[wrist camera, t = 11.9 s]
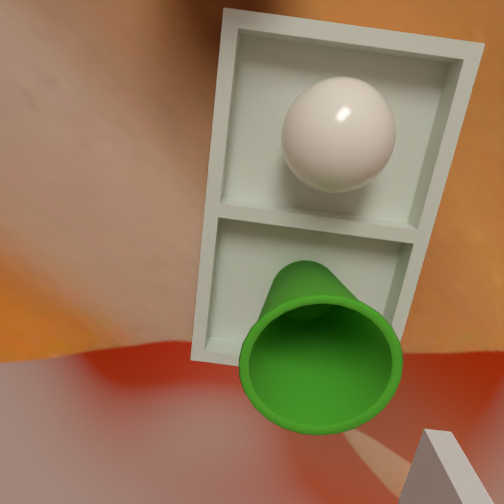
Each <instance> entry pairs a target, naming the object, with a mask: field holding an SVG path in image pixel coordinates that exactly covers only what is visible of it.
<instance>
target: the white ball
mask: <svg viewBox="0 0 504 504" xmlns="http://www.w3.org/2000/svg"><path fill="white" fill-rule="evenodd" d="M395 141H396V122H395V118H394V114H393V112H392V109H391V107H390V105H389V103H388V101H387V100H386V99H385V97H384V96H383V95H382V94H381V93H380V92H379V91H378V90H377V89H376V88H375V87H373V86H372V85H370V84H369V83H367V82H365V81H362V80H360V79H357V78H352V77H332V78H327V79H324V80H321V81H318V82H316V83H314V84H313V85H311V86H309V87H308V88H306V89H305V90H304V91H303V92H302V93H301V94H299V95H298V97H297V98H296V99H295V100H294V101H293V103H292V104H291V106H290V107H289V109H288V111H287V113H286V116H285V119H284V122H283V126H282V132H281V145H282V151H283V155H284V158H285V160H286V163H287V165H288V167H289V168H290V170H291V171H292V172H293V174H294V175H295V176H296V177H297V178H298V179H299V180H300V181H301V182H302V183H304V184H305V185H307V186H308V187H310V188H312V189H314V190H317V191H320V192H325V193H334V194H336V193H346V192H351V191H354V190H357V189H359V188H361V187H363V186H365V185H367V184H368V183H370V182H371V181H372V180H374V179H375V178H376V177H377V176H378V175H379V174H380V173H381V172H382V170H383V169H384V168H385V166H386V165H387V163H388V161H389V160H390V157H391V155H392V153H393V149H394V146H395Z"/></svg>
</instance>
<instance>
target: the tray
mask: <svg viewBox="0 0 504 504" xmlns="http://www.w3.org/2000/svg"><path fill="white" fill-rule="evenodd" d="M484 46H485V44H484V43H477V42H470V41H463V40H455V39H448V38H441V37H434V36H427V35H419V34H412V33H405V32H398V31H391V30H383V29H376V28H369V27H362V26H354V25H347V24H340V23H333V22H326V21H318V20H311V19H304V18H297V17H290V16H282V15H275V14H268V13H261V12H254V11H246V10H239V9H232V8H225V7H224V8H223V18H222V29H221V40H220V50H219V61H218V72H217V83H216V93H215V104H214V115H213V125H212V136H211V147H210V157H209V168H208V179H207V190H206V200H205V211H204V222H203V232H202V243H201V254H200V264H199V275H198V286H197V297H196V307H195V318H194V329H193V339H192V350H191V360H194V361H202V362H210V363H217V364H225V365H232V366H239V356H240V351H241V347H242V343H243V341H244V339H245V338H246V336H247V334H248V332H249V331H250V329H251V327H252V326H253V325H254V324H255V323H256V322H257V321H258V318H259V316H260V313H261V310H262V308H263V305H264V303H265V300H266V298H267V295H268V292H269V290H270V287H271V285H272V282H273V280H274V278H275V276H276V274H277V273H278V272H279V271H280V270H281V269H282V268H284V267H285V266H287V265H288V264H290V263H293V262H296V261H302V260H308V261H314V262H317V263H320V264H322V265H324V266H325V267H327V268H328V269H329V270H330V271H331V272H332V273H333V274H334V275H335V276H336V277H337V278H338V279H339V280H340V281H341V283H342V284H343V285H344V286H345V287H346V288H347V289H348V290H349V291H350V292H351V293H352V294H353V295H354V296H355V297H356V298H357V299H358V300H359V301H361V302H363V303H365V304H366V305H368V306H370V307H371V308H373V309H374V310H376V311H377V312H379V313H380V314H381V315H382V316H383V317H384V318H385V319H386V321H387V322H388V323H389V324H390V325H391V326H392V327H393V329H394V331H395V333H396V335H397V337H398V339H399V341H400V342H401V338H402V335H403V331H404V328H405V324H406V321H407V317H408V314H409V310H410V306H411V303H412V299H413V296H414V292H415V289H416V285H417V282H418V278H419V275H420V271H421V268H422V264H423V261H424V257H425V254H426V250H427V247H428V243H429V240H430V236H431V233H432V229H433V226H434V222H435V218H436V215H437V211H438V208H439V204H440V201H441V197H442V194H443V190H444V187H445V183H446V180H447V176H448V173H449V169H450V166H451V162H452V159H453V155H454V152H455V148H456V145H457V141H458V138H459V134H460V130H461V127H462V123H463V120H464V116H465V113H466V109H467V106H468V102H469V99H470V95H471V92H472V88H473V85H474V81H475V78H476V74H477V71H478V67H479V64H480V60H481V57H482V53H483V50H484ZM332 77H352V78H357V79H360V80H362V81H365V82H367V83H369V84H370V85H372V86H373V87H375V88H376V89H377V90H378V91H379V92H380V93H381V94H382V95H383V96H384V97H385V99H386V100H387V101H388V103H389V105H390V107H391V109H392V112H393V114H394V118H395V122H396V141H395V146H394V149H393V153H392V155H391V157H390V160H389V161H388V163H387V165H386V166H385V168H384V169H383V170H382V172H381V173H380V174H379V175H378V176H377V177H376V178H375V179H374V180H372V181H371V182H370V183H368V184H367V185H365V186H363V187H361V188H359V189H357V190H354V191H351V192H346V193H336V194H334V193H325V192H320V191H317V190H314V189H312V188H310V187H308V186H307V185H305V184H304V183H302V182H301V181H300V180H299V179H298V178H297V177H296V176H295V175H294V174H293V172H292V171H291V170H290V168H289V167H288V165H287V163H286V160H285V158H284V155H283V151H282V145H281V132H282V126H283V122H284V119H285V116H286V113H287V111H288V109H289V107H290V106H291V104H292V103H293V101H294V100H295V99H296V98H297V97H298V95H299V94H301V93H302V92H303V91H304V90H305V89H306V88H308V87H309V86H311V85H313V84H314V83H316V82H318V81H321V80H324V79H327V78H332Z"/></svg>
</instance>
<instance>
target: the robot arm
mask: <svg viewBox="0 0 504 504" xmlns="http://www.w3.org/2000/svg"><path fill="white" fill-rule="evenodd" d="M399 504H494V503H493V501H492V500H491V498H490V496H489V495H488V493H487V491H486V490H485V488H484V486H483V485H482V483H481V481H480V479H479V478H478V476H477V474H476V473H475V471H474V469H473V468H472V466H471V464H470V463H469V461H468V459H467V457H466V456H465V454H464V452H463V451H462V449H461V447H460V446H459V444H458V442H457V441H456V439H455V437H454V436H453V434H452V432H447V431H439V430H430V429H424V431H423V433H422V436H421V439H420V442H419V445H418V448H417V451H416V453H415V456H414V459H413V462H412V465H411V467H410V470H409V473H408V476H407V479H406V482H405V484H404V487H403V490H402V493H401V496H400V499H399Z"/></svg>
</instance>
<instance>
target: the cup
mask: <svg viewBox="0 0 504 504" xmlns="http://www.w3.org/2000/svg"><path fill="white" fill-rule="evenodd" d="M402 365H403V356H402V350H401V345H400V341H399V339H398V337H397V335H396V333H395V331H394V329H393V327H392V326H391V325H390V324H389V323H388V322H387V321H386V319H385V318H384V317H383V316H382V315H381V314H380V313H379V312H377V311H376V310H374V309H373V308H371V307H370V306H368V305H366V304H365V303H363V302H361V301H359V300H358V299H357V298H356V297H355V296H354V295H353V294H352V293H351V292H350V291H349V290H348V289H347V288H346V287H345V286H344V285H343V284H342V283H341V281H340V280H339V279H338V278H337V277H336V276H335V275H334V274H333V273H332V272H331V271H330V270H329V269H328V268H327V267H325V266H324V265H322V264H320V263H317V262H314V261H308V260H302V261H296V262H293V263H290V264H288V265H287V266H285V267H284V268H282V269H281V270H280V271H279V272H278V273H277V274H276V276H275V278H274V280H273V282H272V285H271V287H270V290H269V292H268V295H267V298H266V300H265V303H264V305H263V308H262V310H261V313H260V316H259V318H258V321H257V322H256V323H255V324H254V325H253V326H252V327H251V329H250V331H249V332H248V334H247V336H246V338H245V339H244V341H243V343H242V347H241V351H240V356H239V377H240V380H241V383H242V386H243V389H244V392H245V394H246V395H247V397H248V398H249V400H250V401H251V403H252V404H253V406H254V407H255V408H256V409H257V410H258V411H259V412H260V413H261V414H262V415H263V416H264V417H265V418H267V419H268V420H269V421H271V422H273V423H275V424H276V425H278V426H280V427H282V428H284V429H287V430H290V431H294V432H297V433H300V434H310V435H328V434H338V433H341V432H344V431H348V430H351V429H354V428H356V427H358V426H360V425H362V424H364V423H366V422H367V421H370V420H371V419H372V418H373V417H374V416H376V415H377V414H378V413H379V412H381V411H382V410H383V409H384V408H385V407H386V405H387V404H388V402H389V401H390V400H391V398H392V397H393V396H394V394H395V392H396V389H397V387H398V384H399V382H400V379H401V375H402Z"/></svg>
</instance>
